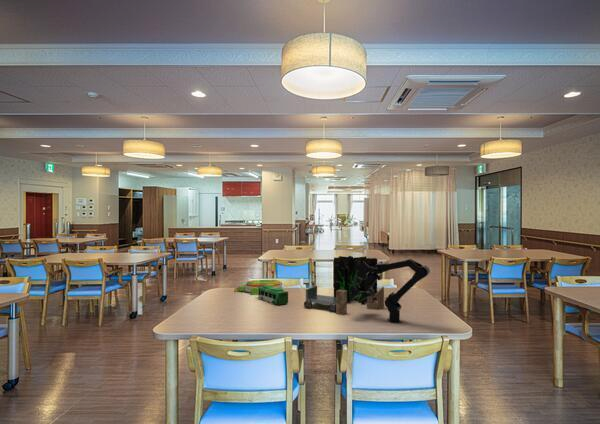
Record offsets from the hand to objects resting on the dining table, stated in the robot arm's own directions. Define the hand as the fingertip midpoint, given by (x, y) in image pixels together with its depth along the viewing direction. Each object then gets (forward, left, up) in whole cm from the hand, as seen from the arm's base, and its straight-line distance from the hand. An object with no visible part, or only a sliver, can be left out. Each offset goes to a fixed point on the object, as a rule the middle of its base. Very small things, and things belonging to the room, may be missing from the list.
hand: (354, 300), depth 218 cm
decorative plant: (+39, -13, -9) cm, 42 cm away
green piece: (+79, +51, -10) cm, 95 cm away
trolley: (+21, +13, -9) cm, 26 cm away
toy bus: (+43, +46, -10) cm, 63 cm away
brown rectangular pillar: (+5, +7, -9) cm, 13 cm away
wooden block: (+13, -18, -9) cm, 24 cm away
